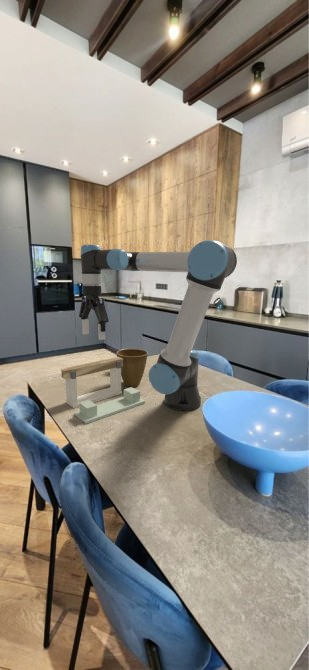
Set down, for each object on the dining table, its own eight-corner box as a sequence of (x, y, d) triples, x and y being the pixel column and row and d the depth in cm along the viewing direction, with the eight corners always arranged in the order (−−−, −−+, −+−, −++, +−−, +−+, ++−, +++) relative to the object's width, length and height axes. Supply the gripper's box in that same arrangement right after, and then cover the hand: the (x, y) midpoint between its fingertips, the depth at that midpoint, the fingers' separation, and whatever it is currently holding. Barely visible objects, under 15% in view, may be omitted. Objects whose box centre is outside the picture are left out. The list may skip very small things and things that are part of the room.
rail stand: (121, 393, 126) (121, 361, 123) (73, 408, 112) (71, 372, 108) (113, 388, 131) (112, 357, 128) (66, 402, 117) (64, 367, 114)
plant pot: (146, 390, 130) (147, 356, 127) (114, 389, 131) (114, 356, 127) (148, 378, 145) (148, 348, 142) (119, 378, 145) (118, 348, 142)
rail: (123, 366, 126) (123, 358, 126) (65, 379, 109) (64, 371, 108) (118, 364, 129) (118, 356, 128) (61, 377, 112) (61, 368, 111)
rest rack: (145, 403, 117) (145, 391, 116) (85, 424, 100) (85, 411, 99) (132, 396, 124) (132, 385, 123) (74, 414, 107) (73, 402, 106)
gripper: (116, 285, 107) (117, 340, 111) (85, 284, 125) (87, 331, 129) (99, 286, 102) (101, 343, 106) (69, 284, 120) (72, 333, 124)
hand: (93, 336), depth 118 cm, fingers open, 13 cm apart
